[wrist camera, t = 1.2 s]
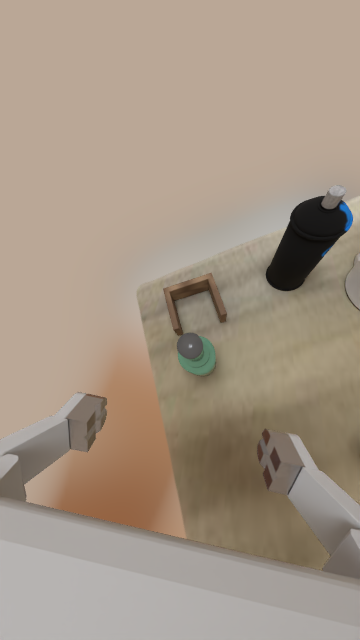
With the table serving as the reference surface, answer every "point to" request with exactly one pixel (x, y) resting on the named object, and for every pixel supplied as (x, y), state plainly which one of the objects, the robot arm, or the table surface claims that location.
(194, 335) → the bottle
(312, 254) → the aerosol can
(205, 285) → the u rest
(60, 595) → the robot arm
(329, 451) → the table surface
